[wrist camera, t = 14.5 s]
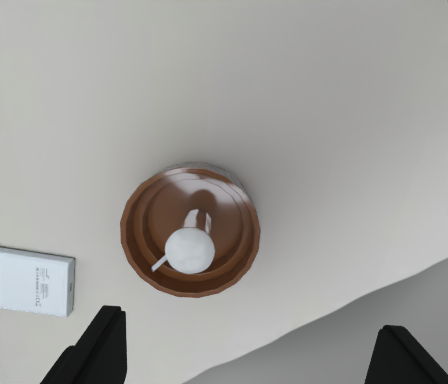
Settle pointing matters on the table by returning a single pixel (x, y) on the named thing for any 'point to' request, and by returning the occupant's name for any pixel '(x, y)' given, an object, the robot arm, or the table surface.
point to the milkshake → (190, 244)
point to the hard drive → (36, 282)
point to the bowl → (173, 216)
